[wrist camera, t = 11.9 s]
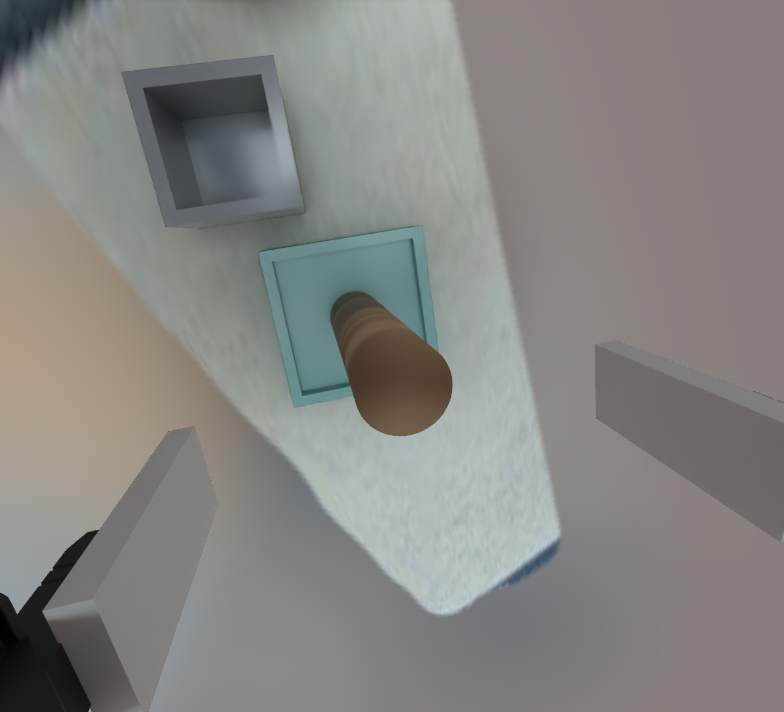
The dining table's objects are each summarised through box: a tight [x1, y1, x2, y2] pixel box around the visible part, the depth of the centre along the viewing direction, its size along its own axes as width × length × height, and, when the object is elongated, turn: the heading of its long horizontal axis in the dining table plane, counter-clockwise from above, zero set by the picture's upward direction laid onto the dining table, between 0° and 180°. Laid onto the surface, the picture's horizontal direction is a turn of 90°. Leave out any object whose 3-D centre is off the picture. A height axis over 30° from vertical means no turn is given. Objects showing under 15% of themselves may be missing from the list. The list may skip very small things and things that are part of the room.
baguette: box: [330, 291, 452, 436], centre depth 26 cm, size 4×4×18 cm
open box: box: [121, 55, 306, 229], centre depth 28 cm, size 8×8×8 cm
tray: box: [258, 226, 438, 408], centre depth 35 cm, size 12×12×2 cm
